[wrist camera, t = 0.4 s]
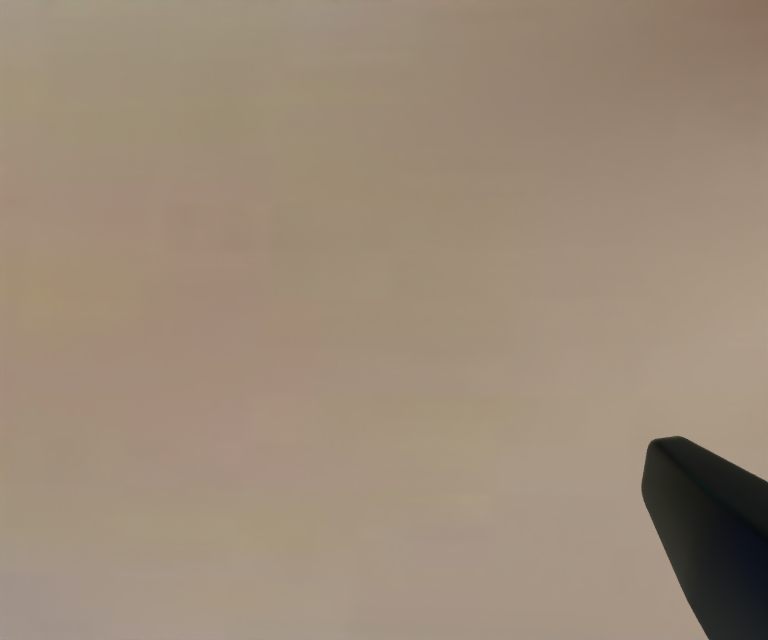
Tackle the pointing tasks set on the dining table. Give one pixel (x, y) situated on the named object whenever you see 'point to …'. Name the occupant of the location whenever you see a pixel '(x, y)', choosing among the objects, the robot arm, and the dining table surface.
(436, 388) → the dining table surface
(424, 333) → the dining table surface
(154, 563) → the dining table surface
